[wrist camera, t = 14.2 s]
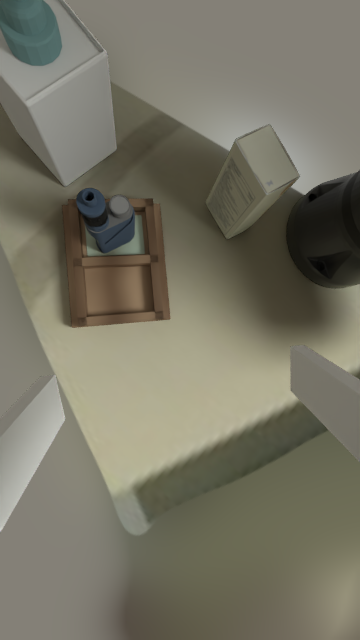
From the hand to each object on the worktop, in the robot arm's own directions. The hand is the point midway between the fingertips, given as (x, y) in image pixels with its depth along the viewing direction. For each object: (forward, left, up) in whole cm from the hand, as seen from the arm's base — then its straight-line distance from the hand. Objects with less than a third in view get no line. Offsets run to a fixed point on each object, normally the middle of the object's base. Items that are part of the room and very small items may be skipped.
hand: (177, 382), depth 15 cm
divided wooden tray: (+3, -12, -21) cm, 24 cm away
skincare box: (-12, -18, -21) cm, 30 cm away
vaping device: (+4, -15, -20) cm, 25 cm away
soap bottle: (+8, -28, -21) cm, 36 cm away
